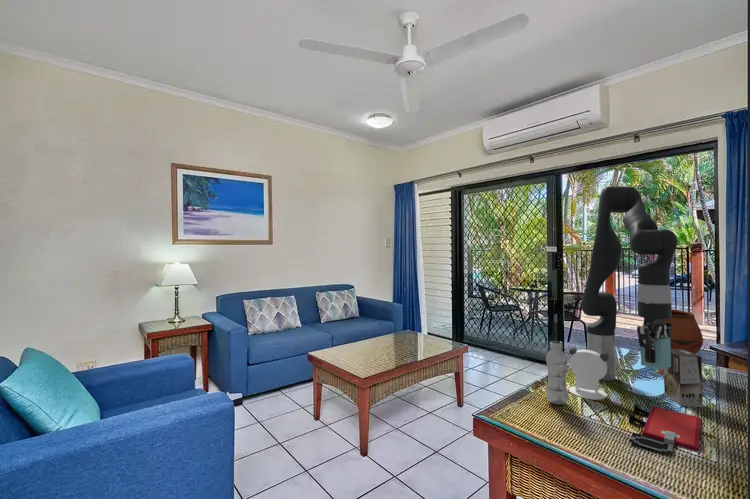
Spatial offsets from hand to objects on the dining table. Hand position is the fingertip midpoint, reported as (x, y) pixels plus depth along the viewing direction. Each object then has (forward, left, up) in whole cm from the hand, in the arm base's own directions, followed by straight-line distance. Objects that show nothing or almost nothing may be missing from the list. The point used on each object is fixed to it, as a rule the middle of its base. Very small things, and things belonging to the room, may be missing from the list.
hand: (655, 360), depth 99 cm
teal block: (0, 0, -1) cm, 1 cm away
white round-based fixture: (-24, +8, -19) cm, 32 cm away
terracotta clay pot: (-19, +55, -19) cm, 61 cm away
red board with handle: (+1, 0, -20) cm, 20 cm away
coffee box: (-5, +28, -19) cm, 34 cm away
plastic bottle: (-24, -9, -19) cm, 32 cm away
